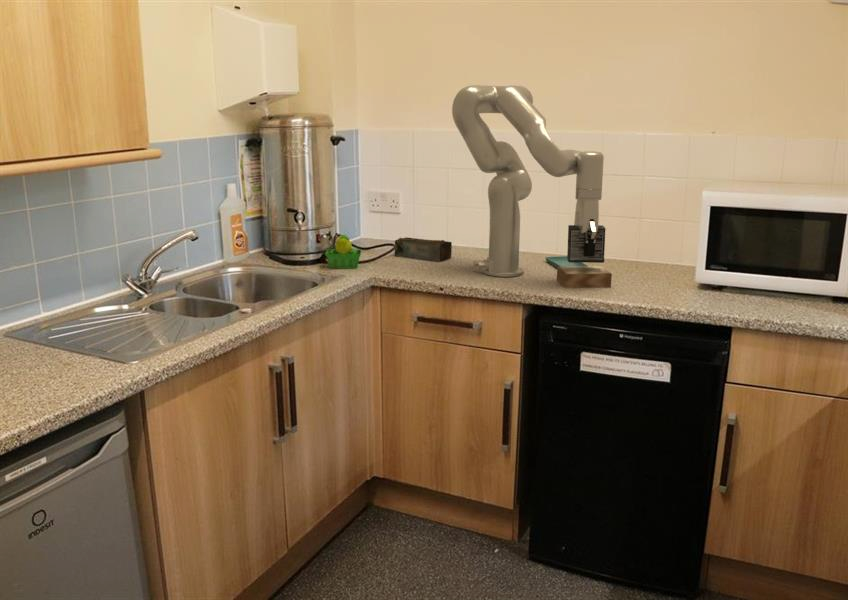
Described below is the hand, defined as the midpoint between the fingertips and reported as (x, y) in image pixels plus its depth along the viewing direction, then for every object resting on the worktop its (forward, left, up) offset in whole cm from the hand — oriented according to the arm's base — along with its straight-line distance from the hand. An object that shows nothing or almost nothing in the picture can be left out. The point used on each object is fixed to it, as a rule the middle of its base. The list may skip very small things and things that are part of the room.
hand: (585, 253), depth 237 cm
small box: (0, 0, -2) cm, 2 cm away
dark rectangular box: (-46, +41, -10) cm, 62 cm away
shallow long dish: (+1, +20, -10) cm, 22 cm away
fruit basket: (-73, +26, -10) cm, 78 cm away
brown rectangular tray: (0, 0, -9) cm, 9 cm away
